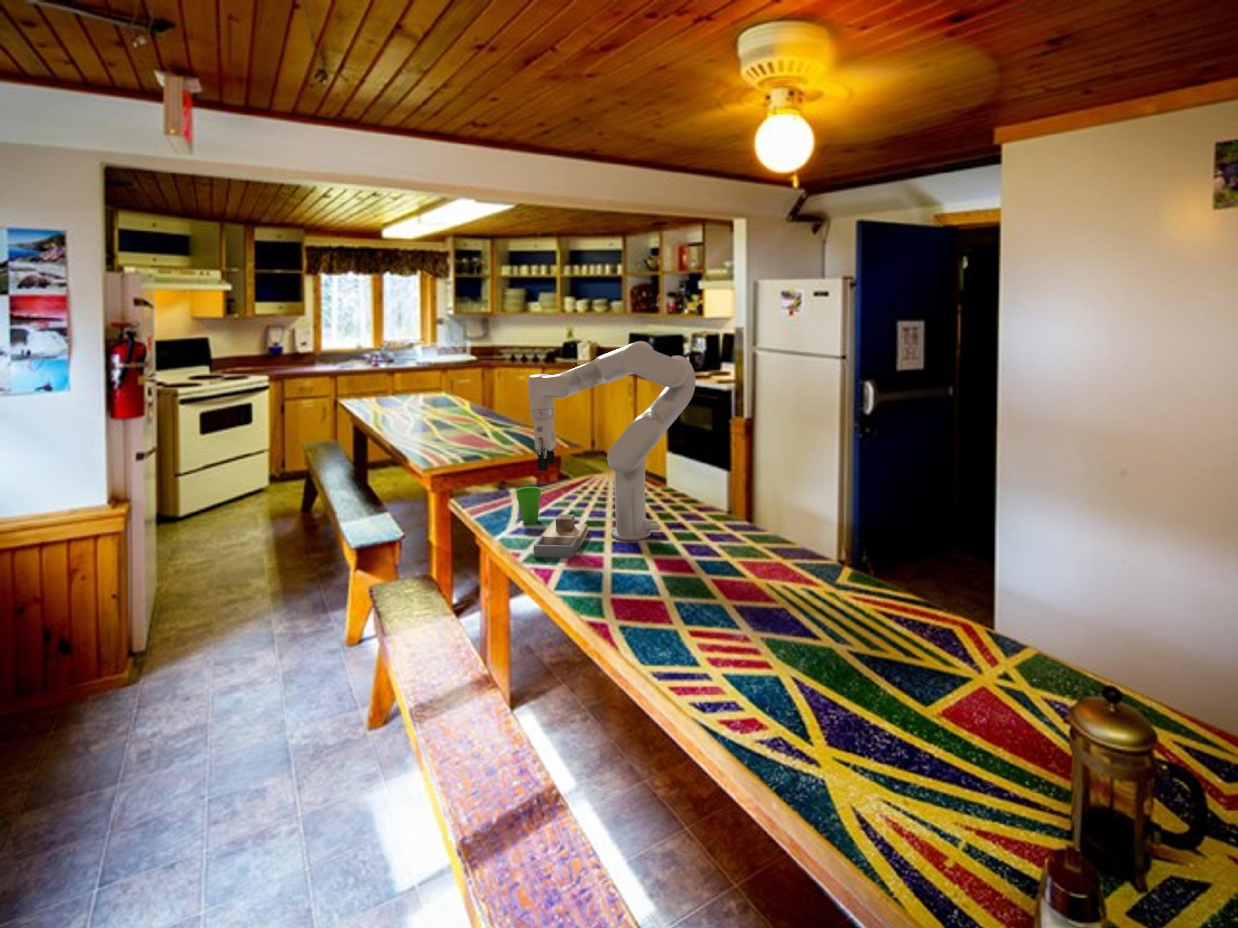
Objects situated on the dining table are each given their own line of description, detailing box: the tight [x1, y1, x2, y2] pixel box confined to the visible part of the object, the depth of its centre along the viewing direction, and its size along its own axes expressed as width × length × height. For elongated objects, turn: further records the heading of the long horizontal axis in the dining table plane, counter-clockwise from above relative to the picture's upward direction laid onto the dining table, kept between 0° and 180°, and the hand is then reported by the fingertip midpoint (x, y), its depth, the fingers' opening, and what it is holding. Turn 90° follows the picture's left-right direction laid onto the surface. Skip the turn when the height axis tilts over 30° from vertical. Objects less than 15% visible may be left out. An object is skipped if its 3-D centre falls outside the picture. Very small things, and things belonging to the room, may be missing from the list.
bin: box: [533, 534, 580, 559], centre depth 213 cm, size 12×9×4 cm
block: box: [554, 514, 576, 532], centre depth 225 cm, size 5×5×4 cm
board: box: [542, 523, 589, 548], centre depth 224 cm, size 12×13×3 cm
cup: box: [514, 486, 543, 524], centre depth 243 cm, size 9×9×11 cm
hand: (546, 467), depth 229 cm, fingers open, 9 cm apart
